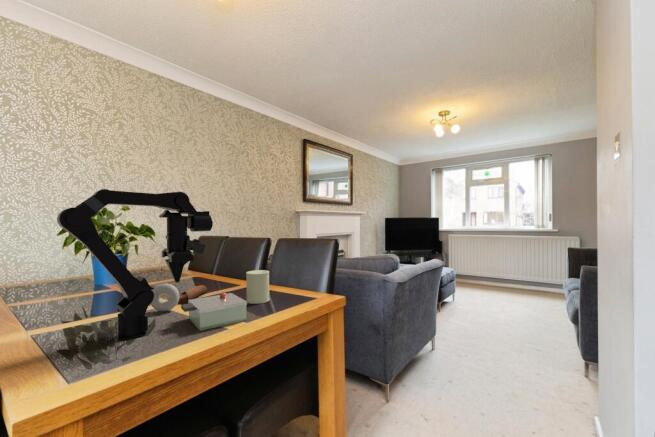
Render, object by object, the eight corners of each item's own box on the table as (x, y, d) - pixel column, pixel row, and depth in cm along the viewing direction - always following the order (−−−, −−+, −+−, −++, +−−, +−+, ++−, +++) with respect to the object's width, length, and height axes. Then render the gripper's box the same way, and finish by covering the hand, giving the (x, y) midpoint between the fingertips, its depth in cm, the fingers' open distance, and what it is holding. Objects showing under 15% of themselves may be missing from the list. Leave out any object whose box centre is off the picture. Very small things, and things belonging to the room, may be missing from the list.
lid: (188, 316, 82) (188, 308, 82) (177, 304, 93) (177, 297, 94) (247, 304, 93) (247, 297, 93) (231, 295, 104) (231, 289, 104)
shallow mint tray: (200, 330, 84) (200, 313, 84) (188, 318, 95) (188, 303, 95) (246, 320, 93) (246, 304, 93) (231, 310, 104) (231, 296, 104)
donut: (147, 313, 101) (147, 284, 101) (151, 310, 104) (151, 282, 104) (177, 312, 102) (177, 283, 102) (181, 309, 106) (181, 281, 106)
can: (267, 303, 112) (267, 272, 112) (243, 304, 112) (243, 272, 112) (271, 297, 121) (271, 268, 121) (249, 297, 121) (249, 269, 121)
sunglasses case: (188, 292, 130) (195, 279, 131) (201, 300, 131) (209, 287, 131) (167, 303, 112) (176, 289, 113) (183, 312, 113) (191, 298, 113)
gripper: (212, 232, 88) (212, 283, 88) (196, 230, 103) (197, 274, 103) (171, 233, 82) (171, 288, 81) (161, 231, 96) (161, 278, 96)
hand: (177, 282), depth 91 cm, fingers closed
